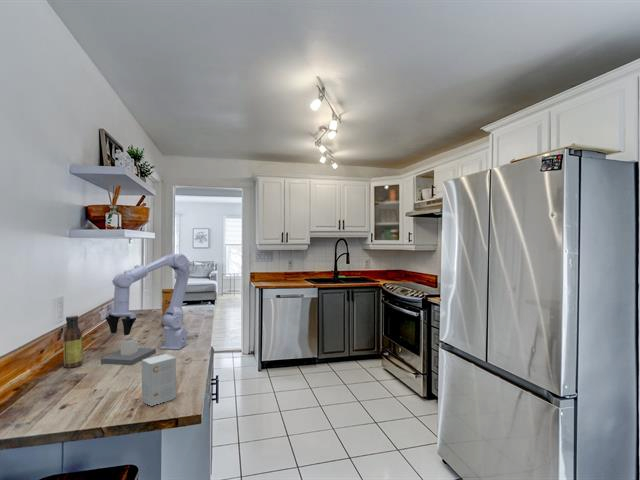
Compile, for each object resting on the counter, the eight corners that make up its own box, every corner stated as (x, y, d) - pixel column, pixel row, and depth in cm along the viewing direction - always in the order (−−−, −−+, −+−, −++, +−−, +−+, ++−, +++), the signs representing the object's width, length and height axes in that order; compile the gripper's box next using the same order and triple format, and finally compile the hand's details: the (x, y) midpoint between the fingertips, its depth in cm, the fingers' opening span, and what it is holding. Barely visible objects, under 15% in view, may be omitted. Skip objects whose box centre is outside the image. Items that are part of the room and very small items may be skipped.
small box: (166, 393, 116) (166, 353, 117) (176, 398, 112) (176, 357, 112) (141, 401, 110) (141, 359, 110) (150, 407, 106) (150, 363, 106)
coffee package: (182, 326, 212) (182, 289, 212) (159, 327, 209) (159, 289, 209) (184, 322, 222) (184, 287, 222) (162, 323, 218) (162, 287, 219)
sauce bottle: (86, 364, 145) (86, 315, 145) (71, 369, 139) (71, 318, 139) (74, 362, 147) (74, 314, 147) (59, 367, 141) (59, 317, 141)
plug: (137, 356, 155) (138, 337, 155) (129, 360, 149) (129, 341, 149) (129, 356, 155) (129, 337, 155) (120, 360, 150) (120, 340, 150)
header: (155, 353, 159) (155, 348, 159) (131, 365, 143) (131, 360, 143) (127, 351, 161) (127, 347, 161) (100, 363, 146) (100, 358, 146)
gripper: (100, 301, 151) (99, 334, 151) (125, 304, 146) (124, 337, 145) (115, 299, 158) (114, 330, 157) (140, 302, 152) (138, 334, 152)
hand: (120, 334), depth 152 cm, fingers open, 7 cm apart
